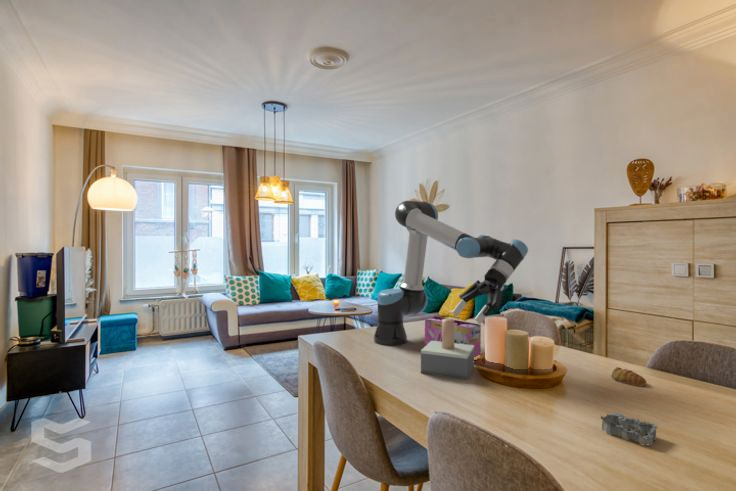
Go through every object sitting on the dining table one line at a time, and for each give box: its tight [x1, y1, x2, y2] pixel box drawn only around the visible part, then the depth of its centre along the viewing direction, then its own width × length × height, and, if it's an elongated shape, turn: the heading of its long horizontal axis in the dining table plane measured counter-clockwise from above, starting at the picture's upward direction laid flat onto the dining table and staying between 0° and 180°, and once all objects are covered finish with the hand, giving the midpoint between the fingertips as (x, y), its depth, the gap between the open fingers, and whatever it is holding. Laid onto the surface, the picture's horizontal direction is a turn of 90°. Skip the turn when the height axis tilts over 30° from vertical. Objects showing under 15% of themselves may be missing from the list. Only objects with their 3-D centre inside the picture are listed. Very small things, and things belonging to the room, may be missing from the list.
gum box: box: [424, 315, 482, 357], centre depth 159 cm, size 24×8×14 cm, turn 41°
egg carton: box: [600, 412, 658, 446], centre depth 94 cm, size 11×8×4 cm
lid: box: [420, 318, 474, 359], centre depth 139 cm, size 14×16×11 cm
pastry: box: [610, 366, 647, 387], centre depth 128 cm, size 9×7×4 cm
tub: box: [420, 349, 475, 380], centre depth 140 cm, size 14×16×7 cm
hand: (465, 318), depth 141 cm, fingers open, 13 cm apart
